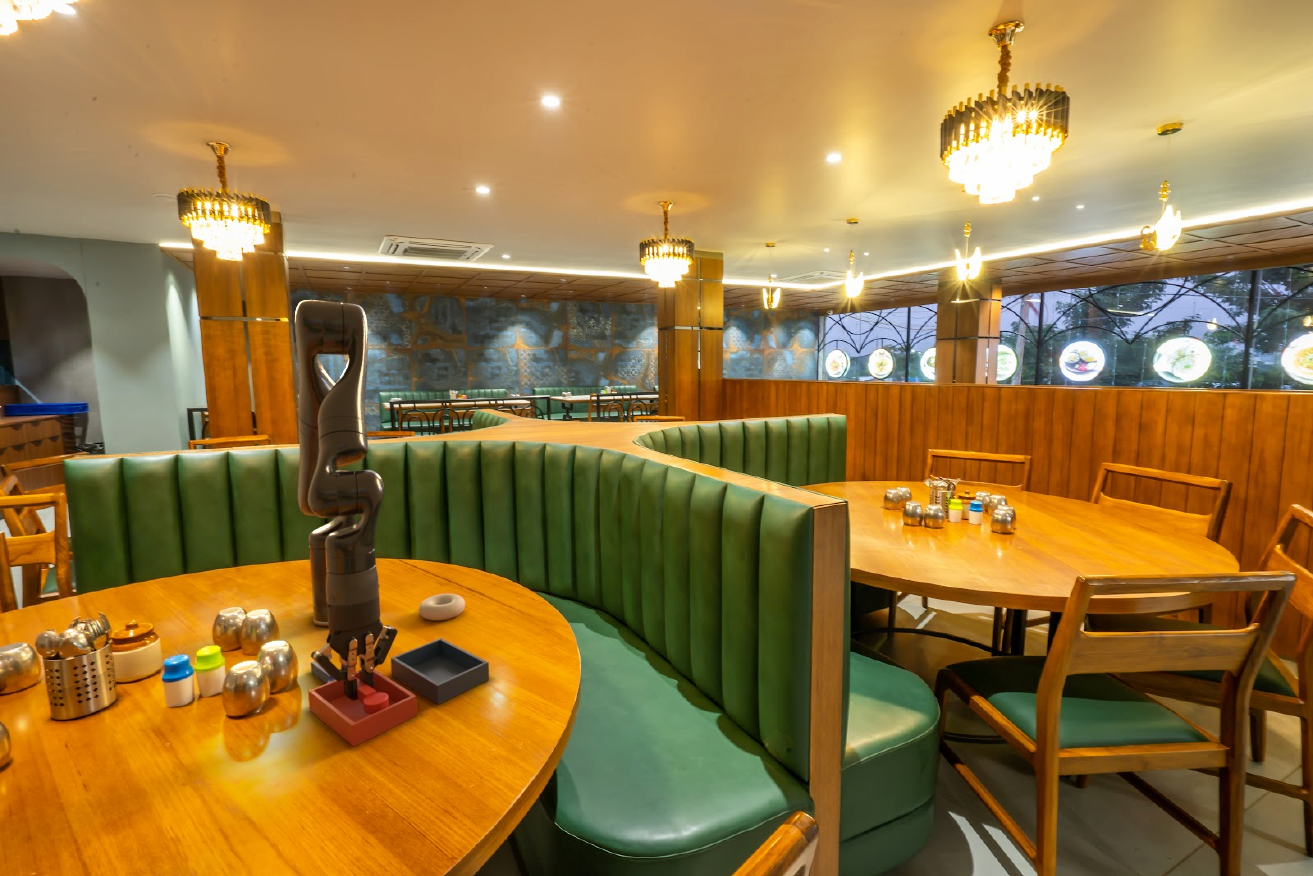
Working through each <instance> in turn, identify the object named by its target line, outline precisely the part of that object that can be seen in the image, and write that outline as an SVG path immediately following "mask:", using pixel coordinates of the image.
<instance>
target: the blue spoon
mask: <svg viewBox="0 0 1313 876" xmlns="http://www.w3.org/2000/svg"><path fill="white" fill-rule="evenodd" d="M310 671H311V672H310V673H311V674H312V675H314V676H315V677H316V678H318V679H319V680H321V681H322V682H323V683H324V684H327V683H329V682H332V681H334V680H335V679H334V678H333V677H331V676H330V675H329V674H328V673H327V672H326V671H325V670H324V669H323V668H322V667H321V666H320V665H319V664H318V663H317V662H316V661H315V660H313V661H311V662H310Z"/></svg>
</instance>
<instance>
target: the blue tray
mask: <svg viewBox="0 0 1313 876" xmlns="http://www.w3.org/2000/svg"><path fill="white" fill-rule="evenodd" d="M390 669H391V671H390V672H391V676H392V677H393V678H395V679H397V680H398V681H400V682H401V683H403V684H404V685H406V686H407V687H409V688H410V689H412V690H414V691H415V692H417V693H419V694H420V695H422V696H423V697H424V698H427V699H428V700H429V701H432V702H433V703H435V704H436V705H438V706H439V705H442V704H443V703H445V702H447V701H450V700H452V699H453V698H456V697H458V696H459V695H462V694H463V693H466V692H467V691H470V690H471V689H473V688H476V687H478V686H480V685H482V684H484V683H486V682H488V681H490V663H489V662H488V661H487V660H485V659H483V658H482V657H479V656H477V655H475V654H473V653H471V652H469V651H467V650H465V649H463V648H461V647H459V646H457V645H456V644H453V643H451V642H450V641H447V640H446V639H443V638H442V637H440V638H438V639H435V640H432V641H430V642H428V643H425V644H423V645H421V646H416V647H415V648H413V649H410V650H408V651H407V650H406V651H405V652H402V653H400V654H397V655H395V656H391V657H390Z"/></svg>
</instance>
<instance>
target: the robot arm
mask: <svg viewBox="0 0 1313 876" xmlns="http://www.w3.org/2000/svg"><path fill="white" fill-rule="evenodd" d="M368 326H369V325H368V319H367V314H366V312H365V309H363V307H362V306H361V305H358V304H354V303H349V302H348V303H347V302H338V301H327V300H315V299H313V300H312V299H309V300H306V299H305V300H302V301H300V302H299V303H298V305H297V307H296V310H295V317H294V331H295V332H294V333H295V342H296V353H297V356H296V357H297V366H298V367H297V368H298V404H297V405H298V407H297V422H298V423H297V426H298V443H299V445H298V446H299V463H298V473H297V474H298V475H297V488H296V489H297V492H296V495H297V497H296V498H297V505H298V507H299V510H300V512H301V513H302V514H304V515H305V516H309V517H310V516H316V517H318V518H321V519H332V520H331V521H330V522H328V523H326V524H324V525H322V526H320V527H317V528H315V529H314V530H312V531H311V532H310V533H309V535H308V538H307V539H308V552H309V566H310V581H311V582H310V583H311V597H312V598H311V599H312V612H313V616H312V619H313V620H312V621H313V622H312V623H313V624H314V625H316V626H317V627H318V626H319V627H327V628H328V635H327V637H326V641H325V642H326V643H325V644H324V645H323V646H322V647H321V648H320V649H319V650H314V651H311V653H310V657H311V659H312V660H313V661H316V662H317V663H318V664H319V665H320V666H321V667H322V668H323V669H324V670H325V671H326V672H327V673H328V674H329V675H330V676H331V677H333V678H334V679H335V680H336V681H342V680H343V686H344V694H345V696H346V697H348V698H349V699H351V700H352V701H354V700H357V699H358V696H357V689H358V686H357V678H356V677H355V676H356V672H357V671H356V666H357V665H358V661H359V667H360V671H359V670H358V671H359V674H360V681H362V682H363V683H364V684H366V685H368V686H369V687H371V688H372V689H373V687H374V680H373V670H374V669H375V668H376V667H378V666H381V665H383V664H384V663H385V661H386V659H387V657H388V655H389V652H390V650H391V648H392V646H393V644H394V641H395V639H396V637H397V635H398V632H399V631H398V629H397V628H395V627H393V626H392V625H389V624H387V625H384V624H383V622H382V620H381V602H380V601H381V600H380V581H379V574H378V569H377V559H376V557H377V556H376V532H377V531H376V530H377V525H378V520H379V515H380V512H381V508H382V505H383V502H384V497H385V482H384V481H383V478H382V477H381V476H380V474H379V473H378V472H376V471H375V470H373V469H359V470H346V469H345V470H344V469H343V470H342V469H341V470H340V468H342V467H344V466H347V465H351V464H355V463H357V462H360V461H362V460H363V459H365V458H366V457H367V455H368V452H369V441H368V432H367V431H368V430H367V419H366V390H367V379H368V357H369V356H368V354H369V352H368V351H369V327H368ZM319 355H330V356H348V357H347V363H346V366H345V368H344V370H343V372H342V373H341V375H340V377H339V378H338V380H337V381H335V380H334V379H333V378H332V377H331V376H330V374H329V373H328V372H327V370H326V368H325V367H324V364H323V363H322V361H321V358H320V356H319ZM338 469H339V470H338ZM356 516H360V517H359V518H358V520H357V521H356ZM332 650H333V651H334V652H335V653H336V654H338V660H339V663H340V668H338V667H337V666H336V665H335V664H334V663H333V662H332V661H331V660H332V658H333V655H332Z"/></svg>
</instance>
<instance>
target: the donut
mask: <svg viewBox="0 0 1313 876" xmlns="http://www.w3.org/2000/svg"><path fill="white" fill-rule="evenodd" d="M465 608H466V600H465V599H464V598H463V597H462V596H461V595H459V594H455V593H440V594H434V595H432V596H431V595H430V596H429V597H427V598H425V599H424V600H423V601H421V602H420V604H419V606H418V612H419V615H420V616H421V617H422V618H423V619H425V620H427V621H445V620H450V619H453V618H455V617H457V616H460V614H462V612H464V611H465Z"/></svg>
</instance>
